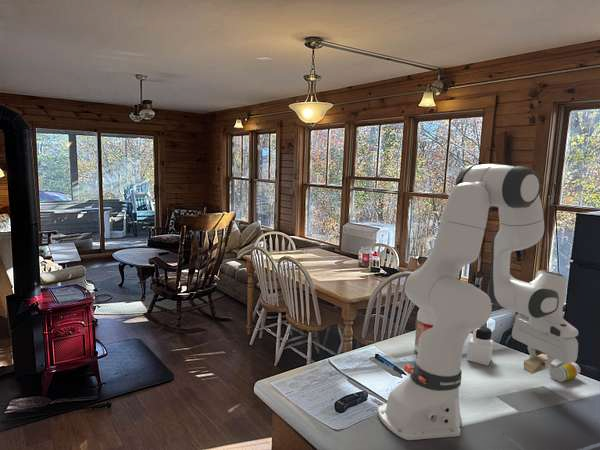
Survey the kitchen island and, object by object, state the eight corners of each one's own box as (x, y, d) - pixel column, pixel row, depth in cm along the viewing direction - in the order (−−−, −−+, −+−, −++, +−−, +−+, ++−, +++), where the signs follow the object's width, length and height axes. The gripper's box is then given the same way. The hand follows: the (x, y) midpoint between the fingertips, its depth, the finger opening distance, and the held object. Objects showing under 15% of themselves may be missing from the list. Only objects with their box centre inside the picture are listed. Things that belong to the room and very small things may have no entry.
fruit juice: (426, 344, 160) (432, 273, 156) (446, 353, 152) (453, 279, 148) (408, 348, 155) (415, 276, 151) (428, 359, 147) (435, 282, 143)
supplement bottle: (567, 380, 131) (585, 375, 136) (559, 363, 134) (577, 358, 138) (553, 383, 136) (571, 378, 140) (545, 367, 138) (563, 362, 142)
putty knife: (536, 376, 127) (536, 367, 126) (519, 367, 132) (519, 358, 131) (571, 361, 132) (571, 353, 131) (553, 353, 137) (553, 345, 137)
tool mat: (521, 415, 115) (521, 413, 115) (495, 398, 123) (495, 396, 123) (570, 403, 122) (571, 401, 122) (543, 387, 131) (543, 385, 131)
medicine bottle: (491, 358, 150) (495, 327, 148) (488, 366, 144) (492, 333, 142) (470, 353, 154) (473, 322, 152) (466, 360, 148) (470, 328, 146)
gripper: (509, 311, 137) (505, 350, 139) (569, 335, 118) (562, 380, 120) (523, 309, 140) (518, 348, 141) (584, 333, 121) (577, 377, 123)
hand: (539, 363), depth 131 cm, fingers closed on putty knife, 3 cm apart
